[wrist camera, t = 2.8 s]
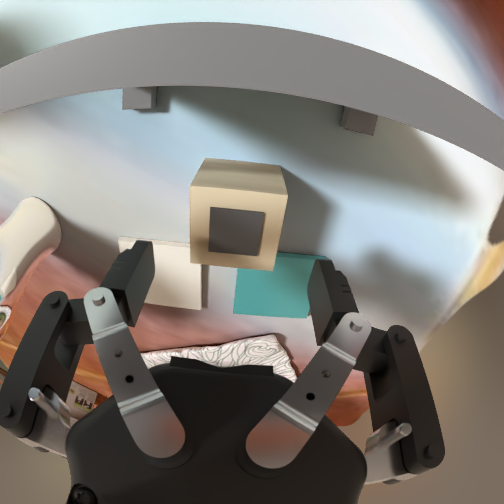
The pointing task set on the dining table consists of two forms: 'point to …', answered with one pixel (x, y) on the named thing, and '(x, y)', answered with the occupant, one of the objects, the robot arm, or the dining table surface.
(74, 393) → the coffee box
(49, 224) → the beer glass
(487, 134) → the screen
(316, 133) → the dining table surface
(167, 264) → the pad
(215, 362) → the cookie jar
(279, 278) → the pad
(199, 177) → the beige cube
